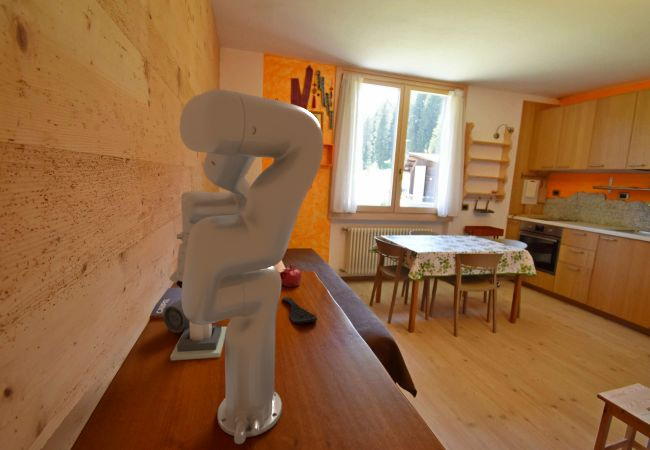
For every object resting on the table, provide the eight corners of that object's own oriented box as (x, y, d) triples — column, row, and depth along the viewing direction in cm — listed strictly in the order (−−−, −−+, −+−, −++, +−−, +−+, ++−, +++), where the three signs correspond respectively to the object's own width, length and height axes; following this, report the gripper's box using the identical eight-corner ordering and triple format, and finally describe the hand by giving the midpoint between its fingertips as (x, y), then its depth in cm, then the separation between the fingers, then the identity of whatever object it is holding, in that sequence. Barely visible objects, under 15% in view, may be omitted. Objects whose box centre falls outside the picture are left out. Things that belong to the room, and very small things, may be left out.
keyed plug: (209, 344, 82) (208, 321, 81) (189, 346, 81) (188, 322, 80) (212, 335, 87) (211, 312, 86) (193, 336, 86) (192, 313, 85)
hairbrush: (294, 291, 119) (322, 314, 97) (294, 300, 120) (322, 325, 98) (274, 294, 116) (298, 319, 94) (274, 303, 116) (298, 330, 94)
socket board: (219, 357, 79) (219, 345, 79) (170, 360, 77) (170, 348, 76) (227, 330, 93) (226, 320, 92) (185, 332, 90) (185, 322, 90)
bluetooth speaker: (218, 306, 110) (213, 279, 109) (238, 307, 107) (234, 279, 106) (164, 336, 89) (158, 303, 88) (188, 338, 86) (182, 304, 85)
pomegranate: (301, 281, 139) (302, 261, 137) (301, 288, 129) (302, 267, 128) (279, 280, 138) (280, 260, 137) (277, 288, 128) (278, 267, 127)
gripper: (158, 241, 75) (161, 310, 78) (230, 241, 78) (230, 307, 81) (168, 235, 82) (171, 298, 85) (233, 235, 85) (234, 296, 88)
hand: (200, 302), depth 83 cm, fingers open, 5 cm apart
